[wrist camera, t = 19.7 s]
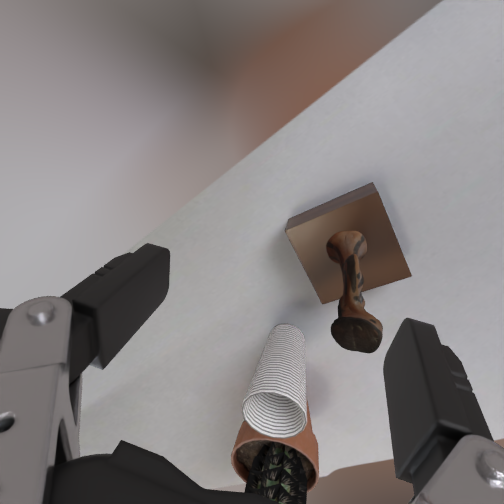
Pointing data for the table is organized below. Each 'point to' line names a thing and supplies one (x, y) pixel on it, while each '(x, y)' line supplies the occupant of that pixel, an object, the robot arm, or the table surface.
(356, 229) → the walnut block
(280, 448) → the potted plant
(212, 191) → the table surface
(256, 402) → the cup
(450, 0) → the table surface
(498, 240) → the table surface
